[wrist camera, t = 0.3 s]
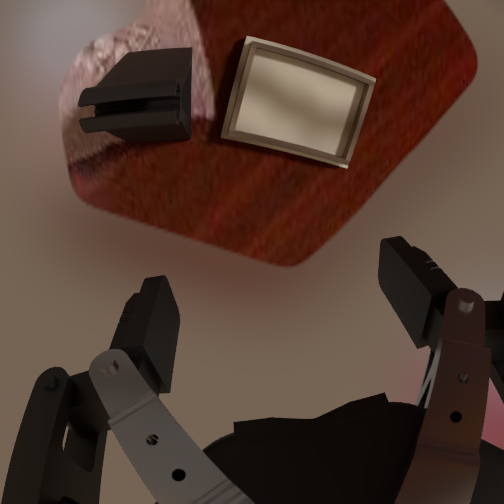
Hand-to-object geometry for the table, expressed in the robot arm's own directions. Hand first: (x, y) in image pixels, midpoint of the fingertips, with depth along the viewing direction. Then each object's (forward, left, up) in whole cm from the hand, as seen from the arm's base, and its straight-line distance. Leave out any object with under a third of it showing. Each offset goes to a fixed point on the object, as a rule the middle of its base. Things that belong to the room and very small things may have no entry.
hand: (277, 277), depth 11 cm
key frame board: (-6, +5, -21) cm, 22 cm away
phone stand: (-4, -8, -21) cm, 23 cm away
